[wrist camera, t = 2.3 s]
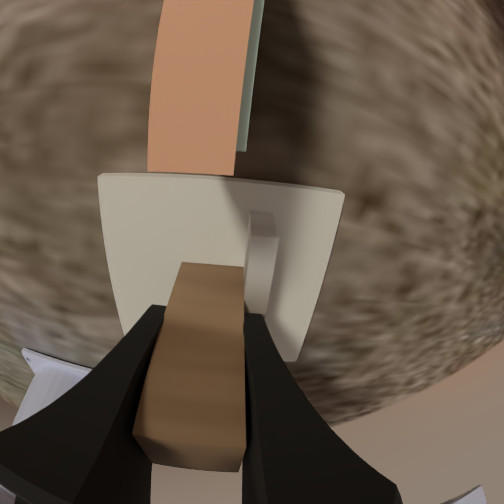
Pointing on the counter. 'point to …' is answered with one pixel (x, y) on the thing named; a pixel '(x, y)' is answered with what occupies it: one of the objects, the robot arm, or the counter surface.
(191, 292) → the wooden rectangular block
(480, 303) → the counter surface
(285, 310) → the mat
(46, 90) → the counter surface
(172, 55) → the tile
